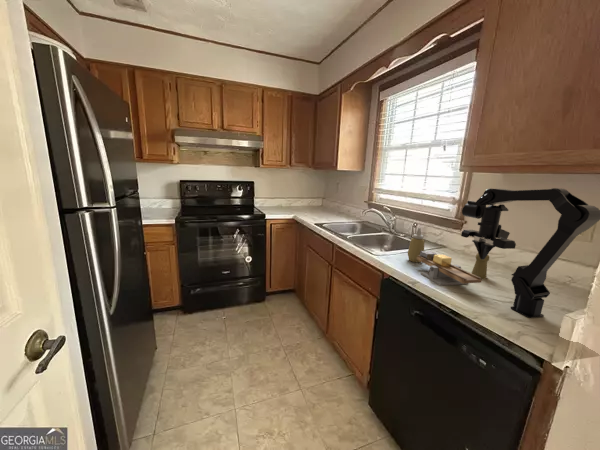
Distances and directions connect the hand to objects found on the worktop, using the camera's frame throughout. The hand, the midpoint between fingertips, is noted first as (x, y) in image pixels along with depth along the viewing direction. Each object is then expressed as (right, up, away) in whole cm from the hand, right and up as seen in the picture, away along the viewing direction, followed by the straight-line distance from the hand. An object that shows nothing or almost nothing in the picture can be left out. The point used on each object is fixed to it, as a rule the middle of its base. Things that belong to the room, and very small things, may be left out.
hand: (482, 259), depth 101 cm
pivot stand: (-9, -10, +12) cm, 18 cm away
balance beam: (-9, -6, +11) cm, 15 cm away
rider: (-9, -4, +13) cm, 17 cm away
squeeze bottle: (-12, -6, +34) cm, 37 cm away
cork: (+11, -10, +17) cm, 23 cm away
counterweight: (-11, -3, +22) cm, 25 cm away
